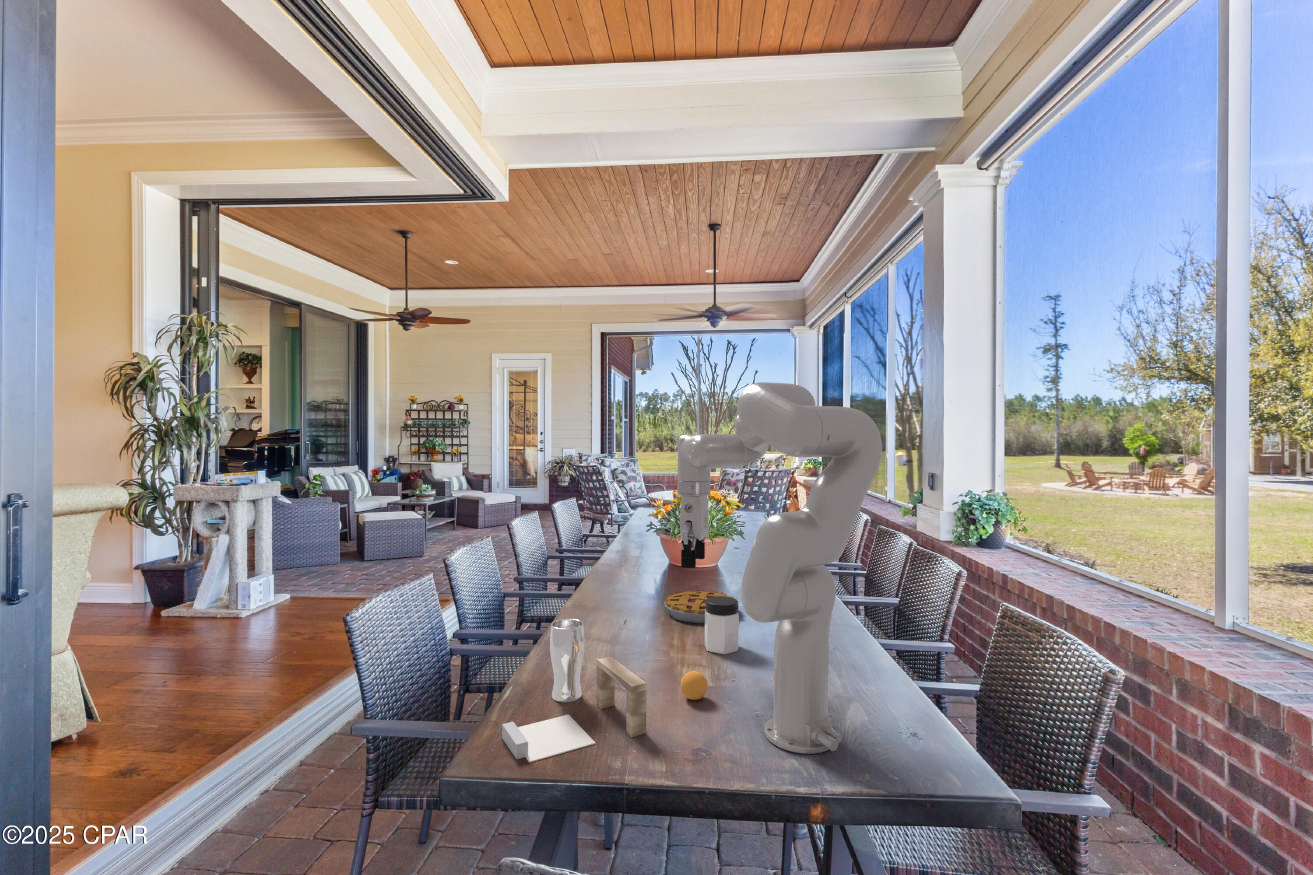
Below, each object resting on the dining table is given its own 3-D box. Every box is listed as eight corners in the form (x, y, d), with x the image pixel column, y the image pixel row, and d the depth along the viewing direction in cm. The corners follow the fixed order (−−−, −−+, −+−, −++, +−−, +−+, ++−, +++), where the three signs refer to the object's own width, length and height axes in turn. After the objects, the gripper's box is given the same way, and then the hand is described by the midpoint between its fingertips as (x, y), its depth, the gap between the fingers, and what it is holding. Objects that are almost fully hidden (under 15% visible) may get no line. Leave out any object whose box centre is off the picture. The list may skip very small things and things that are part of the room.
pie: (668, 601, 195) (668, 585, 194) (738, 604, 191) (738, 589, 191) (659, 623, 173) (659, 605, 173) (737, 627, 170) (737, 610, 170)
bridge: (610, 701, 123) (610, 656, 123) (646, 733, 111) (646, 682, 111) (596, 704, 122) (596, 659, 122) (631, 737, 110) (631, 686, 109)
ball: (712, 700, 124) (713, 673, 124) (690, 707, 121) (690, 679, 121) (697, 690, 129) (697, 664, 129) (675, 696, 126) (675, 669, 126)
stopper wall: (528, 756, 103) (528, 741, 103) (516, 759, 102) (516, 744, 102) (513, 735, 110) (513, 721, 110) (502, 737, 109) (502, 724, 109)
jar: (717, 656, 148) (718, 607, 148) (697, 646, 155) (697, 599, 154) (745, 649, 153) (746, 601, 152) (724, 639, 160) (725, 594, 159)
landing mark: (595, 743, 107) (595, 742, 107) (529, 762, 101) (529, 761, 101) (568, 715, 118) (568, 714, 118) (506, 730, 111) (506, 729, 111)
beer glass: (568, 706, 121) (569, 631, 121) (542, 698, 125) (542, 624, 124) (590, 693, 127) (591, 621, 127) (564, 685, 131) (565, 616, 130)
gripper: (702, 492, 131) (701, 572, 131) (716, 485, 148) (716, 556, 148) (668, 491, 133) (667, 570, 133) (686, 484, 150) (686, 554, 150)
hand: (693, 562), depth 141 cm, fingers open, 9 cm apart
